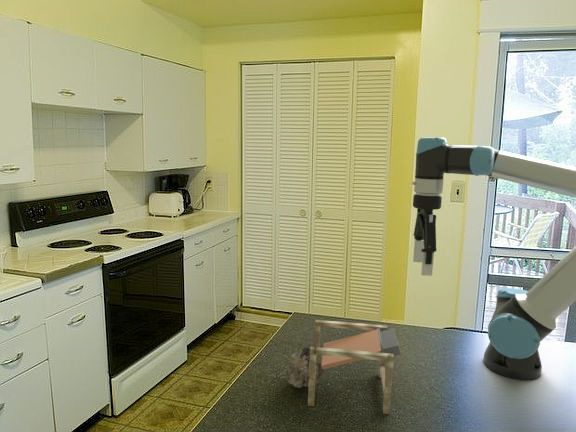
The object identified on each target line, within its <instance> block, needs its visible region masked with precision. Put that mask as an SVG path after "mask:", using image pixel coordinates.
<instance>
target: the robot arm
mask: <svg viewBox="0 0 576 432" xmlns="http://www.w3.org/2000/svg"><path fill="white" fill-rule="evenodd" d="M414 171H415V172H414V173H415V175H414V181H412V184H411V185H413V187H414V188H413V192H414V194H413V197H412V198H413V199H412V207H413V208H415V209H416V211H417V213H416V219H415V225H414V231H413V234H412V235H413V237H414V242H413V256H412V257H413V260H412V262H413V263H421V271H420V272H421V276H428V277H429V276H430V277H432V276H433V269H434V255H435V252H437V249H438V248H437V232H436V231H437V230H436V229H437V226H436V222H437V215H436V214H434V212H433V211H434V210H440V209H441V208H442V198H443V196H442V195H441V194H443V190H444V174H456V175H468V176H469V175H470V176H487V177H491V178H496V179H499V180H504V181H507V182H512V183H516V184H519V185H523V186H526V187H532V188H535V189H539V190H543V191H547V192H551V193H555V194H559V195H562V196H567V197H571V198H575V199H576V167H575V166H571V165H566V164H562V163H557V162H553V161H550V160H545V159H544V160H543V159H539V158H536V157H535V158H534V157H531V156H526V155H521V154H517V153H512V152H508V151H503V150H498V149H495V148H493V147H492V146H489V145H485V146H484V145H452V144H451V145H449V144H448V143H447V139H446V137H426V136H425V137H420V138H419V139H418V141H417V147H416V153H415V170H414ZM575 302H576V245H575V246H574V247H573V248H572V249H571V250H570V251H568V252H567V253H566V254H565V255H564V256H563V258H561V260H559V261H558V262H557V263H556V264H555V265H554V266H553V267H552V268H551V269H550V270H549V271H547V273H545V275H543V276H542V277H541V279H539V280H538V282H536V283H535V284H534V285H532V287H531V288H530V289H529V290H525V289H519V288H513V287H512V288H511V287H504V288H500V289H499V290H498V291H497V295H496V303H495V305H496V306H495V310H494V311H493V314H492V318H491V319H490V321H489V323H488V325H487V337H488V340H489V342H488V345H487V347H486V349H485V350H484V353H483V359H482V360H483V364H484V365H485V366H486V367H487V368H488V369H490V370H491V371H493V372H494V373H496V374H499V375H501V376H503V377H507V378H511V379H515V380H524V381H525V380H526V381H529V380H530V381H531V380H535V379H538V378H539V377H541V375H542V368H543V365H542V361H541V356H540V353H539V348H540V344H541V341H543V340H544V339H545V338H546V337H547V336H549V334H551V333H552V332H553V331H554V330H555V329H556V328H557V323H556V319H557V318H558V317H559V316H561V315H562V314H563V312H565V311H566V310H567V309H568V308H570V307H571V305H572V304H574V303H575Z"/></svg>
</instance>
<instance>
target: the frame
mask: <svg viewBox="0 0 576 432" xmlns="http://www.w3.org/2000/svg"><path fill="white" fill-rule="evenodd" d="M321 327H323V328H324V327H325V328H332V329H333V328H334V329H346V330H359V331H368V332H369V331H373V330H376V329H377V328H379V329H380V332H381V331H385V330H389V329H388V325H386V324H374V323H373V324H371V323H360V322H351V321H350V322H347V321H338V320H337V321H335V320H323V319H315V321H314V335H313V337H314V338H313V341H314V342H313V346H310V348H309V349H310V364H309V386H307V388H308V389H307V390H308V394H307V406H309V407H314V406H315V397H316V396H315V395H316V384H315V377H316V362H317V363H320V356H322V355H326V356H337V357H348V358H359V359H363V360H371V361H378V370H377V375H378V376H377V377H378V378H379V379H380V383H381V389H382V396H383V400H382V414H383V415H385V414H386V415H390V414H391V413H390V412H391V401H392V389H393V387H392V386H393V374H394V364H395V363H394V362H395V361H394V360H395V356H394V354H390V353H379V352H367V351H356V350H345V349H334V348H323V347H321V346H320V345H321Z"/></svg>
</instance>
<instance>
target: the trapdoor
mask: <svg viewBox="0 0 576 432" xmlns="http://www.w3.org/2000/svg"><path fill="white" fill-rule="evenodd" d="M322 348H334V349H345V350H356V351H367V352H379V353H390V354H394V357H397V356H400V355H402V353H401V349H400V344H399V341H398V337H397V334H396V330H395V328H394V327H393V328H390V329H388V330H385V331H380V329H379V328H377V329H376V330H373V331H369V330H368V331H366V332H362V333H358V334H354V335H350V336H346V337H343V338H339V339H336V340H331V341H327V342H324V343H323V347H322ZM361 360H364V359H359V358H348V357H337V356H326V355H321V363H320V364H321V366H322V369H325V370H326V369H330V368H334V367H338V366H342V365H346V364H350V363H354V362H358V361H361Z"/></svg>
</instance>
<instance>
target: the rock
mask: <svg viewBox="0 0 576 432" xmlns="http://www.w3.org/2000/svg"><path fill="white" fill-rule="evenodd" d="M290 357H291V358H290V360H289V364H288V366H287V367H286V370H285V375H286V380H287V383H289V385H292V386H293V387H294V388H298V389H299V388H302V387H309V364H310V348H309V347H302V348H301V349H299V351H297V352H296V353H294V352H293V353H292V354H291V356H290ZM321 364H322V363H320V362H319V363H317V362H316V377H315V385H317V384H318V383H319V382H320V380H322V379H323V377H324V376H325V375H326V369H322V366H321Z"/></svg>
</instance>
